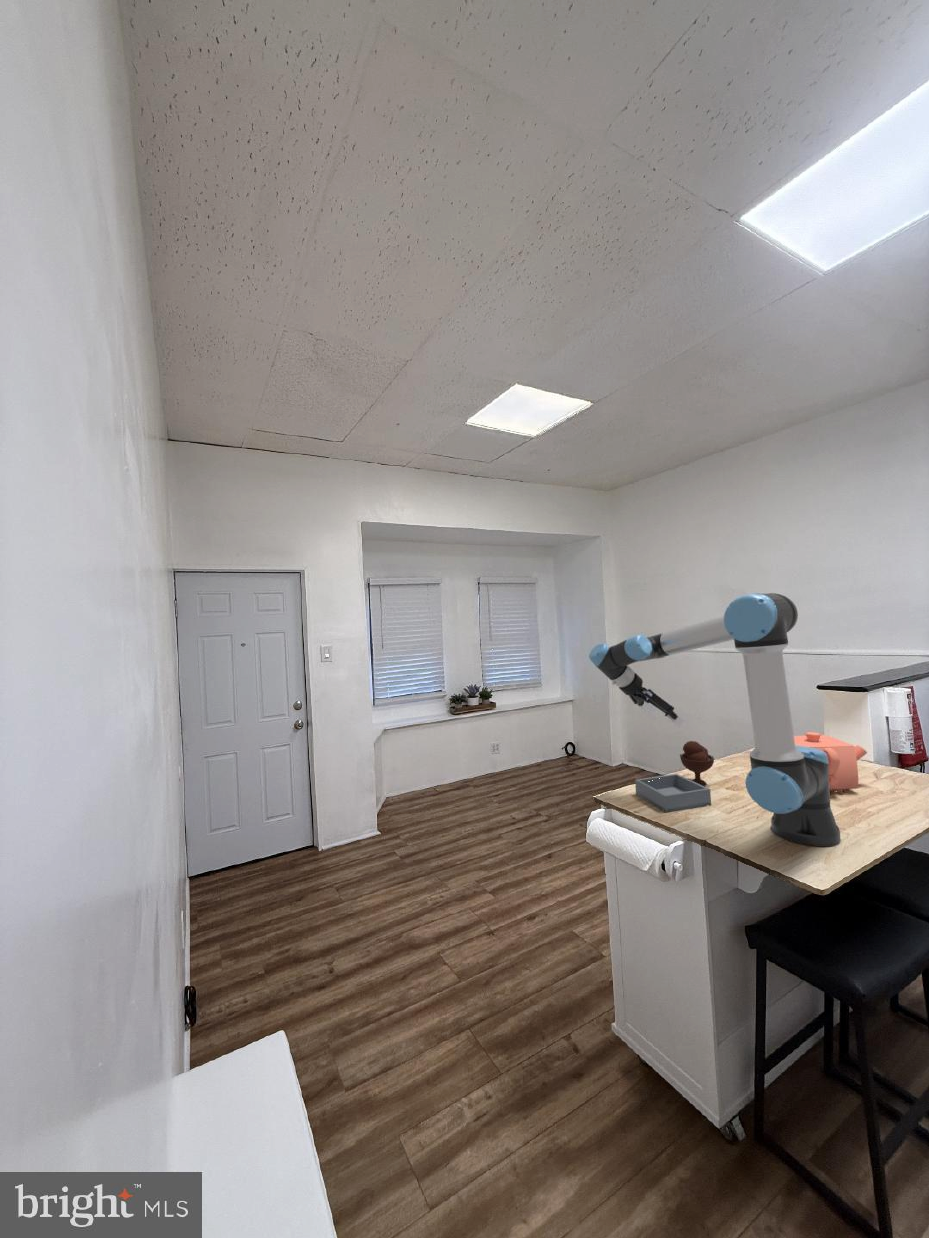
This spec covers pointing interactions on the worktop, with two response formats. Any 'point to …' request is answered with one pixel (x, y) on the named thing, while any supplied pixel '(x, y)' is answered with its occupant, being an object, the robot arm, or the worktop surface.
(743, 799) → the worktop surface
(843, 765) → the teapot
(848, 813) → the worktop surface
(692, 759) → the ice cream bowl
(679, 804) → the tray
